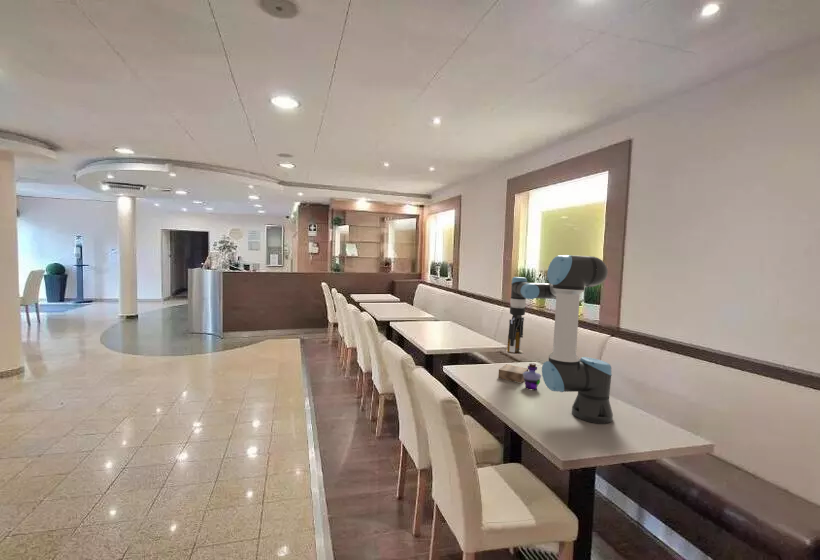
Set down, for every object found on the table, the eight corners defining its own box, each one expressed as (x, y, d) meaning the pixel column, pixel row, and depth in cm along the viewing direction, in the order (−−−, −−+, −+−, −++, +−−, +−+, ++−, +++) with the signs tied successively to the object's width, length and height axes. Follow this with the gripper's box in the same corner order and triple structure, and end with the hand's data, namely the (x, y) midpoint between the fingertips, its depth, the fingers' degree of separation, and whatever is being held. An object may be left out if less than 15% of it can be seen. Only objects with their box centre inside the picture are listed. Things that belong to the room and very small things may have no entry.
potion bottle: (539, 392, 185) (540, 367, 184) (520, 389, 188) (521, 364, 188) (541, 387, 193) (543, 363, 192) (523, 383, 196) (525, 360, 195)
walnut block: (527, 377, 208) (528, 368, 207) (521, 383, 197) (521, 374, 197) (505, 373, 214) (506, 364, 213) (498, 378, 204) (498, 369, 203)
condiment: (505, 350, 209) (506, 327, 208) (521, 351, 208) (523, 328, 207) (507, 353, 202) (508, 330, 201) (524, 354, 201) (525, 331, 200)
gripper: (518, 304, 213) (515, 346, 215) (503, 307, 198) (500, 352, 199) (531, 306, 208) (528, 348, 210) (517, 309, 193) (514, 355, 195)
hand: (514, 350), depth 205 cm, fingers closed on condiment, 6 cm apart
